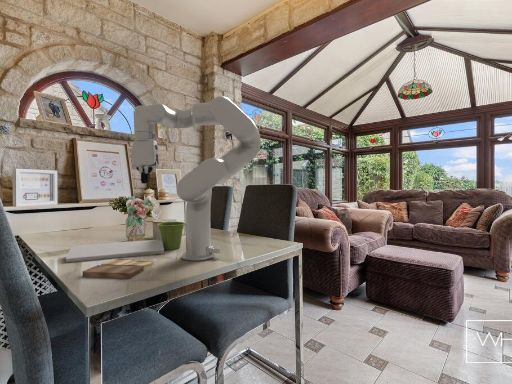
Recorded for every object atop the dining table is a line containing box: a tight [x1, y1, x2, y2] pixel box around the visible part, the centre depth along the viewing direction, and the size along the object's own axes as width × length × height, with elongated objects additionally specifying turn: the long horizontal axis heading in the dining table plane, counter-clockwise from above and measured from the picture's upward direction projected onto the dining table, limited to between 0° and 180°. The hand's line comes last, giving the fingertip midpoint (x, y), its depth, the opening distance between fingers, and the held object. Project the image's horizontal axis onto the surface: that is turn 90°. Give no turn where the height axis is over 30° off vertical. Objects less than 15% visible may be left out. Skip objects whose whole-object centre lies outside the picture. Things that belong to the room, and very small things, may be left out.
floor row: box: [82, 264, 145, 279], centre depth 87 cm, size 16×8×2 cm, turn 83°
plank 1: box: [100, 257, 135, 266], centre depth 95 cm, size 8×7×2 cm
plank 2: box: [123, 260, 155, 271], centre depth 94 cm, size 8×7×2 cm
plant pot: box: [157, 221, 186, 251], centre depth 122 cm, size 12×12×11 cm
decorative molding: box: [65, 238, 165, 263], centre depth 111 cm, size 34×5×10 cm
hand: (145, 183), depth 110 cm, fingers closed
